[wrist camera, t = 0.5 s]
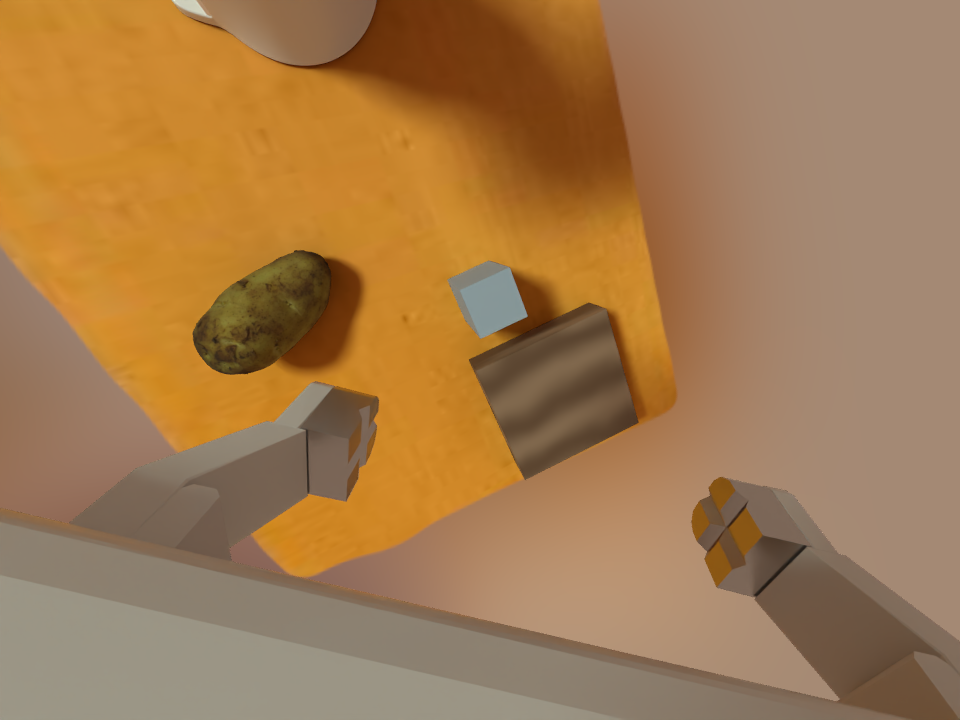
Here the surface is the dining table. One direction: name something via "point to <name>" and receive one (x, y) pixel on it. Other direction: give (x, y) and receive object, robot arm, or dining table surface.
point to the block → (488, 297)
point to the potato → (264, 314)
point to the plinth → (557, 388)
